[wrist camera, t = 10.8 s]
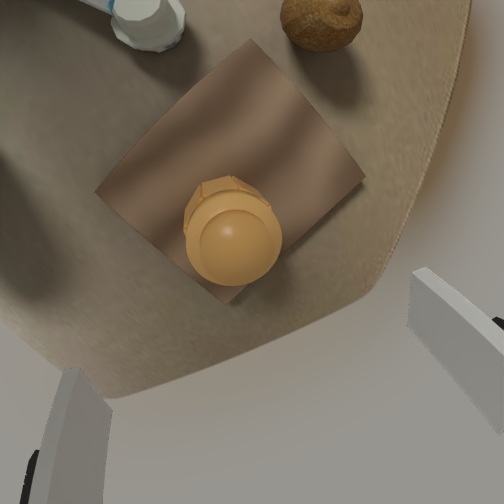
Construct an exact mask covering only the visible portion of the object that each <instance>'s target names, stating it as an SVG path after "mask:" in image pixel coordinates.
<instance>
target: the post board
mask: <svg viewBox="0 0 504 504" xmlns="http://www.w3.org/2000/svg"><path fill="white" fill-rule="evenodd" d="M229 175H230V176H231V177H232V176H234V177H236V178H238V179H240V180H241V181H243V182H245V183H246V184H248V185H250V186H252V187H253V188H255V189H257V190H258V191H259V192H260V194H261V195H262V196H263V197H264V198H265V199H266V200H267V201H268V203H269V204H270V205H271V208H272V212H273V213H274V215H275V216H276V218H277V220H278V222H279V224H280V228H281V232H282V245H281V250H280V253H279V256H278V258H279V257H280V256H281V255H282V254H283V253H284V252H285V251H286V250H287V249H288V248H290V247H291V246H292V245H293V244H294V243H295V242H296V241H297V240H298V239H299V238H300V237H302V236H303V235H304V234H305V233H306V232H307V231H308V230H309V229H310V228H311V227H312V226H313V225H315V224H316V223H317V222H318V221H319V220H320V219H321V218H322V217H323V216H324V215H325V214H326V213H328V212H329V211H330V210H331V209H332V208H333V207H334V206H335V205H336V204H337V203H338V202H339V201H340V200H341V199H343V198H344V197H345V196H346V195H347V194H348V193H349V192H350V191H351V190H352V189H353V188H354V187H355V186H356V185H357V184H359V183H360V182H361V181H362V180H363V179H364V178H365V177H366V176H365V174H364V173H363V172H362V170H361V169H360V167H359V166H358V164H357V163H356V162H355V160H354V159H353V158H352V156H351V155H350V153H349V152H348V151H347V149H346V148H345V147H344V145H343V144H342V143H341V141H340V140H339V139H338V137H337V136H336V135H335V134H334V132H333V131H332V130H331V128H330V127H329V126H328V125H327V123H326V122H325V121H324V120H323V118H322V117H321V116H320V115H319V113H318V112H317V111H316V110H315V109H314V107H313V106H312V105H311V104H310V103H309V101H308V100H307V99H306V98H305V97H304V95H303V94H302V93H301V92H300V91H299V90H298V89H297V87H296V86H295V85H294V84H293V83H292V82H291V81H290V79H289V78H288V77H287V76H286V75H285V74H284V73H283V72H282V71H281V70H280V68H279V67H278V66H277V65H276V64H275V63H274V62H273V61H272V60H271V59H270V58H269V57H268V56H267V55H266V54H265V53H264V52H263V50H262V49H261V48H260V47H259V46H258V45H257V44H256V43H255V42H254V41H253V40H252V39H250V40H249V41H247V42H246V43H245V44H243V45H242V46H241V47H239V48H238V49H237V50H236V51H234V52H233V53H232V54H231V55H229V56H228V57H227V58H226V59H225V60H223V61H222V62H221V63H220V64H219V65H217V66H216V67H215V68H214V69H213V70H211V71H210V72H209V73H208V74H207V75H206V76H205V77H203V78H202V79H201V80H200V81H199V82H198V83H197V84H196V85H194V86H193V87H192V88H191V89H190V90H189V91H188V92H187V93H186V94H185V95H184V96H183V97H181V98H180V99H179V100H178V101H177V102H176V103H175V104H174V105H173V106H172V107H171V108H170V109H169V110H168V111H167V112H166V113H165V114H164V115H163V116H162V117H161V118H160V119H159V120H158V121H157V122H156V123H155V124H154V125H153V126H152V127H151V128H150V129H149V130H148V131H147V132H146V133H145V134H144V135H143V137H142V138H141V139H140V140H139V141H138V142H137V143H136V144H135V145H134V146H133V147H132V148H131V150H130V151H129V152H128V153H127V154H126V155H125V156H124V157H123V159H122V160H121V161H120V162H119V163H118V164H117V165H116V167H115V168H114V169H113V170H112V171H111V173H110V174H109V175H108V176H107V177H106V179H105V180H104V181H103V182H102V183H101V185H100V186H99V187H98V188H97V190H96V191H95V192H94V193H96V194H97V195H98V196H99V197H100V198H101V199H102V200H103V201H104V202H105V203H106V204H108V205H109V206H110V207H111V208H112V209H113V210H114V211H115V212H116V213H117V214H119V215H120V216H121V217H122V218H123V219H124V220H125V221H126V222H128V223H129V224H130V225H131V226H132V227H133V228H134V229H135V230H137V231H138V232H139V233H140V234H141V235H142V236H143V237H145V238H146V239H147V240H148V241H149V242H150V243H152V244H153V245H154V246H155V247H156V248H157V249H158V250H160V251H161V252H162V253H163V254H164V255H166V256H167V257H168V258H169V259H170V260H171V261H173V262H174V263H175V264H176V265H177V266H179V267H180V268H181V269H182V270H183V271H185V272H186V273H187V274H188V275H189V276H191V277H192V278H193V279H194V280H195V281H197V282H198V283H199V284H200V285H202V286H203V287H204V288H205V289H206V290H208V291H209V292H210V293H211V294H213V295H214V296H215V297H216V298H218V299H219V300H220V301H221V302H223V303H224V304H225V305H226V304H227V303H228V302H230V301H231V300H232V299H233V298H234V297H235V296H236V295H237V294H239V293H240V292H241V291H242V290H243V289H244V288H245V287H246V286H247V285H249V284H250V283H251V282H250V283H247V284H244V285H239V286H225V285H219V284H216V283H213V282H211V281H209V280H207V279H205V278H204V277H203V276H201V275H200V274H199V273H198V272H197V271H196V270H195V268H194V267H193V266H192V264H191V262H190V260H189V258H188V255H187V251H186V237H185V233H184V230H183V227H184V215H185V208H186V207H187V205H188V203H189V201H190V200H191V198H192V196H193V195H194V193H195V191H196V189H197V188H198V186H199V185H201V186H202V183H203V182H206V181H210V180H214V179H217V178H221V177H225V176H229Z"/></svg>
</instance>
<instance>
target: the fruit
mask: <svg viewBox="0 0 504 504" xmlns="http://www.w3.org/2000/svg"><path fill="white" fill-rule="evenodd" d="M280 20H281V24H282V28H283V30H284V32H285V33H286V35H287V36H288V37H289V39H290V40H291V41H292V42H294V43H295V44H297V45H298V46H299V47H301V48H304V49H307V50H310V51H314V52H331V51H336V50H338V49H340V48H342V47H344V46H346V45H348V44H349V43H351V42H352V41H353V39H354V38H355V37H356V35H357V34H358V33H359V31H360V30H361V26H362V20H363V12H362V9H361V5H360V3H359V1H358V0H284V2H283V4H282V8H281V12H280Z"/></svg>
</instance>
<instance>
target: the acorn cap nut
mask: <svg viewBox="0 0 504 504" xmlns="http://www.w3.org/2000/svg"><path fill="white" fill-rule="evenodd" d="M183 230H184V233H185V237H186V251H187V255H188V258H189V260H190V262H191V264H192V266H193V267H194V268H195V270H196V271H197V272H198V273H199V274H200V275H201V276H203V277H204V278H205V279H207V280H209V281H211V282H213V283H216V284H219V285H225V286H239V285H244V284H247V283H250V282H253V281H255V280H257V279H258V278H260V277H262V276H263V275H264V274H265V273H267V272H268V271H269V270H270V269H271V267H272V266H273V265H274V263H275V262H276V260H277V258H278V256H279V253H280V250H281V245H282V232H281V228H280V224H279V222H278V220H277V218H276V216H275V215H274V213H273V212H272V208H271V205H270V204H269V203H268V201H267V200H266V199H265V198H264V197H263V196H262V195H261V194H260V192H259V191H258V190H257V189H255V188H253V187H252V186H250V185H248V184H246V183H245V182H243V181H241V180H240V179H238V178H236V177H234V176H232V177H231V176H230V175H229V176H225V177H221V178H217V179H214V180H210V181H206V182H203V183H202V186H201V185H199V186H198V188H197V189H196V191H195V193H194V195H193V196H192V198H191V200H190V201H189V203H188V205H187V207H186V208H185V215H184V227H183Z"/></svg>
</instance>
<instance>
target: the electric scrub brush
mask: <svg viewBox="0 0 504 504" xmlns="http://www.w3.org/2000/svg"><path fill="white" fill-rule="evenodd" d="M79 1H81V2H84V3H86V4H88V5H91V6H93V7H95V8H97V9H99V10H101V11H104V12H106V13H108V14H110V15H112V19H111V26H112V28H113V30H114V32H115V34H116V36H117V38H118V39H119V40H121V41H122V42H124V43H126V44H127V45H129V46H131V47H132V48H134V49H140V50H141V51H155V52H158V53H159V52H162V51H165V50H167V49H170V48H173V47H174V46H175V45H176V44H177V43H178V41H179V40H180V39H181V38H182V37H183V31H184V27H185V19H186V13H185V11H184V9H183V7H182V6H181V4H180V2H179V0H79Z"/></svg>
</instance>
